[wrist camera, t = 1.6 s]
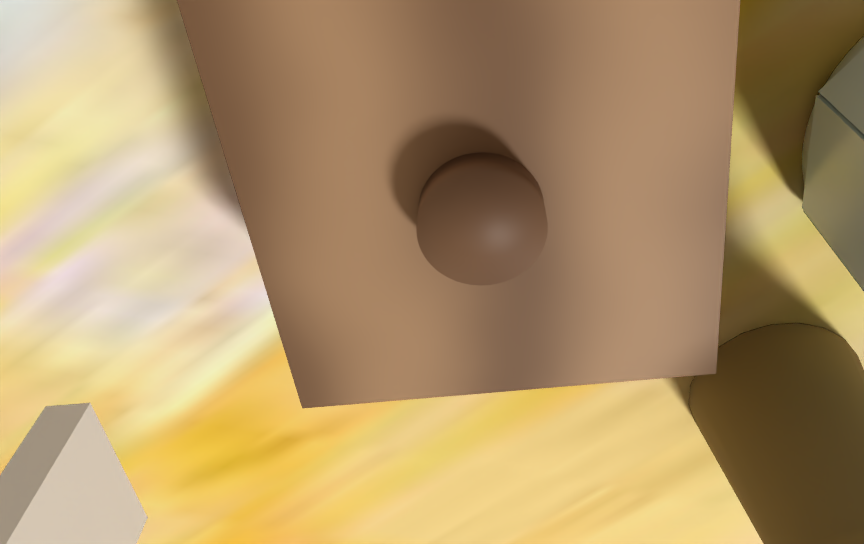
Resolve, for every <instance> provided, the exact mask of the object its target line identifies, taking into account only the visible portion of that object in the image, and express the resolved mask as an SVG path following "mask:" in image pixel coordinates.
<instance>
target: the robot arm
mask: <svg viewBox="0 0 864 544" xmlns="http://www.w3.org/2000/svg"><path fill="white" fill-rule="evenodd" d="M147 518H148V517H147V515H146V513H145V511H144V509H143V507H142V505H141V503H140V501H139V499H138V497H137V495H136V493H135V491H134V489H133V487H132V485H131V483H130V481H129V479H128V477H127V475H126V473H125V471H124V469H123V467H122V465H121V463H120V461H119V459H118V457H117V455H116V453H115V451H114V449H113V447H112V445H111V443H110V441H109V439H108V437H107V435H106V433H105V431H104V429H103V427H102V425H101V423H100V421H99V419H98V417H97V415H96V413H95V411H94V409H93V408H92V406H91V404H90V403H83V404H70V405H57V406H46V407H45V408H44V410H43V411H42V413H41V414H40V416H39V417H38V419H37V420H36V422H35V423H34V425H33V426H32V428H31V429H30V431H29V432H28V434H27V435H26V437H25V438H24V440H23V441H22V443H21V444H20V446H19V447H18V449H17V451H16V452H15V454H14V455H13V457H12V458H11V460H10V461H9V463H8V464H7V466H6V467H5V469H4V470H3V472H2V473H1V475H0V544H136V543H137V541H138V539H139V536H140V534H141V532H142V529H143V527H144V525H145V522H146V520H147Z"/></svg>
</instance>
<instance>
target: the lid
mask: <svg viewBox="0 0 864 544" xmlns="http://www.w3.org/2000/svg"><path fill="white" fill-rule="evenodd" d="M177 2H178V5H179V8H180V12H181V15H182V18H183V21H184V25H185V28H186V31H187V34H188V38H189V41H190V44H191V47H192V51H193V54H194V57H195V60H196V64H197V67H198V70H199V73H200V77H201V80H202V83H203V86H204V90H205V93H206V96H207V99H208V103H209V106H210V109H211V112H212V116H213V119H214V122H215V126H216V129H217V132H218V135H219V139H220V142H221V145H222V148H223V152H224V155H225V158H226V161H227V165H228V168H229V171H230V174H231V178H232V181H233V184H234V187H235V191H236V194H237V197H238V200H239V204H240V207H241V210H242V213H243V217H244V220H245V223H246V226H247V230H248V233H249V236H250V239H251V243H252V246H253V249H254V252H255V256H256V259H257V262H258V265H259V269H260V272H261V275H262V278H263V282H264V285H265V288H266V291H267V295H268V298H269V301H270V305H271V308H272V311H273V314H274V318H275V321H276V324H277V327H278V331H279V334H280V337H281V340H282V344H283V347H284V350H285V353H286V357H287V360H288V363H289V366H290V370H291V373H292V376H293V379H294V383H295V386H296V389H297V392H298V396H299V399H300V402H301V405H302V408H312V407H324V406H336V405H348V404H360V403H372V402H384V401H396V400H408V399H420V398H432V397H444V396H456V395H468V394H480V393H492V392H504V391H516V390H528V389H539V388H551V387H563V386H575V385H587V384H599V383H611V382H623V381H635V380H647V379H659V378H671V377H683V376H695V375H707V374H716V368H717V352H718V337H719V321H720V306H721V290H722V275H723V260H724V244H725V229H726V213H727V198H728V182H729V167H730V152H731V136H732V121H733V105H734V90H735V74H736V59H737V44H738V28H739V13H740V0H177Z"/></svg>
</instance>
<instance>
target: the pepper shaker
mask: <svg viewBox="0 0 864 544" xmlns="http://www.w3.org/2000/svg"><path fill="white" fill-rule="evenodd" d="M689 406H690V409H691V411H692V414H693V417H694V420H695V422H696V424H697V426H698V427H699V429H700V431H701V433H702V435H703V436H704V438H705V440H706V442H707V444H708V445H709V447H710V449H711V451H712V452H713V454H714V456H715V458H716V460H717V461H718V463H719V465H720V467H721V468H722V470H723V472H724V474H725V476H726V477H727V479H728V481H729V483H730V485H731V486H732V488H733V490H734V492H735V493H736V495H737V497H738V499H739V501H740V502H741V504H742V506H743V508H744V509H745V511H746V513H747V515H748V517H749V518H750V520H751V522H752V524H753V526H754V527H755V529H756V531H757V533H758V534H759V536H760V538H761V540H762V542H763V543H764V544H864V370H863V367H862V365H861V362H860V360H859V358H858V355H857V354H856V353H855V352H854V350H853V349H852V348H851V347H850V345H849V344H848V343H847V341H846V340H845V339H843V338H841V337H840V336H838V335H836V334H834V333H832V332H831V331H829V330H827V329H825V328H821V327H816V326H811V325H806V324H801V323H792V324H776V325H768V326H765V327H762V328H758V329H755V330H752V331H749V332H745V333H742V334H740V335H739V336H737V337H735V338H734V339H732V340H730V341H729V342H727V343H725V344H723V345H722V346H720V347H718V352H717V368H716V374H707V375H695V377H694V379H693V381H692V383H691V386H690V398H689Z"/></svg>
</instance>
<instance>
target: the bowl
mask: <svg viewBox="0 0 864 544" xmlns="http://www.w3.org/2000/svg"><path fill="white" fill-rule="evenodd" d="M818 92H819V93H820V94H819V95H816V98H815V105H814V107H813V109H812V112H811V115H810V118H809V121H808V124H807V127H806V131H805V137H804V142H803V147H802V171H803V180H804V184H805V188H804V196H803V204H802V208H803V210H804V213H805V214H806V215H807V217H808V218H809V219H810V221H811V222H812V223H813V225H814V226H815V227H816V229H817V230H818V231H819V232H820V234H821V235H822V236H823V238H824V239H825V240H826V242H827V243H828V244H829V246H830V247H831V248H832V250H833V251H834V252H835V254H836V255H837V256H838V258H839V259H840V260H841V262H842V263H843V264H844V266H845V267H846V268H847V270H848V271H849V272H850V274H851V275H852V276H853V278H854V279H855V280H856V282H857V283H858V284H859V286H860V287H861V288H862V290H863V291H864V36H863V37H862V38H861V40H860V41H859V42H858V43H857V44H856V45H855V46H854V47H853V48H852V49H851V50H850V51H849V52H848V53H847V54H846V56H845V57H844V58H843V59H842V61H841V62H840V63H839V65H838V66H837V67H836V68H835V70H834V71H833V73H832V74H831V76H830V77H829V79H828V81H827V82H826V84H825V85H824V86H823V87H822V88H821V89H820V90H819V91H818Z"/></svg>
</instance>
